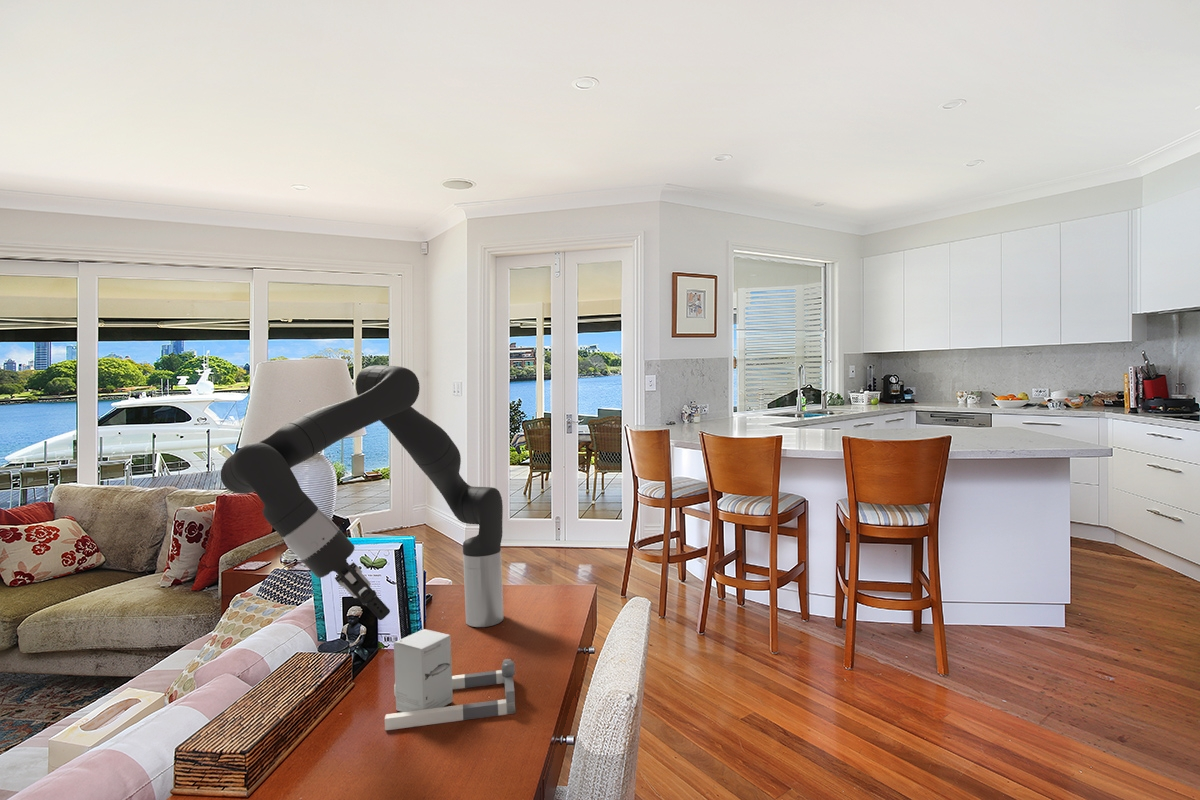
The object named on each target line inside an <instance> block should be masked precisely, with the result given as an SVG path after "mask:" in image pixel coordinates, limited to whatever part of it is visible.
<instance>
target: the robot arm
mask: <svg viewBox="0 0 1200 800" xmlns="http://www.w3.org/2000/svg"><path fill="white" fill-rule="evenodd" d="M355 390H356V391H355V392H356V394H357V395H355V396H354V397H351V398H348V399H346V400H342V401H340V402H339V401H338V402H336V403H333V404H328V405H325V406H323V407H319V408H317V409H315V410H311V411H309V412H307V413H305V414H303V415H302V416H300V417H297V418H296V419H294V420H291V421H290V422H289V423H287V424H285V425H283V426H282V427H280V428H279V429H278V430H276V431H275V432H273V433H272V434H271V435H270V436H268V437H266V438H265V439H262V440H260V441H259V442H258V441H257V442H256V441H255V442H254V441H253V442H250V443H246V444H245V445H244V446H242V447H241V448H239V449H237V450H236V451H235V452H234V453H233V454H231V455H230V456H229V457H228V458H227V459H226V460H225V461H224V462H223V464H222V467H221V469H220V480H221V483H222V484H223V486H224V487H225V488H226V489H227V490H228V491H231V492H232V493H235V494H240V495H241V494H242V495H245V494H252V493H254V492H255V493H256V495H257V496H258V498H259V499H260V500H261V502H262V503H263V506H264V507H263V509H262V515H263V517H264V519H265V520H266V522H267V523H268V524H269V525H270V526H271V527H272V528H273V529H274V530H275V531H276V532H277V533H278V535H280V537H281V538H282V539H283V541H284V542H285V543H286V544H287V546H288V548H289V549H290V550H291V551H292V552H293V553H294V554H295V556H296V557H298V559H300V561H301V562H302V563H303V564H304V565H305V566H306V567H307V569H308V570H310V571H311V572H312V574H313V575H314V576H315V577H316V578H319V579H321V578H325V577H327V576H328V575H330V574H331V572H335V573H336V576H335V577H334V579H335V581H336V582H337V584H338V585H339V586H340V587H341V588H342V589H345V590H346V591H347V592H348V593H349V595H350V596H352V597H353V598H354V599H358V600H359V601H360V603H361V605H363V606H365V607H367V609H369V610H370V611H371V613H372V614H373V615H374V616H375V617H376V618H377V619H378V621H382V620H384V619H385V618H386V617H387V616H389V614H390V613H391V609H389V608H388V606H387V605H386V604H385V602H383V601H382V600H381V599H380V597H379V596H378V594H377V592H376V590H373V589H372V587H371V586H372V585H371V582H370V580H369V579H368V578H367V577H366V576H365V575H364V574H363V573H362V572H363V571H362V569H360V567H359V566H358V565H357V564H356V563H355V562H354V561H352V563H348V560H347V559H348V558H349V557H351V555H352V554H353V552H354V551H355V544H354V543H352V541H350V539H349V538H348V537H347V536H346V534H344V533H343V531H342V530H341V529H340V528H339V527H338V526H337V524H335V523H334V522H333V520H332V519H331V518H330V517H329V516H328V515H327V514H326V513H325V512H323V511H322V510H321V509H320V508H319V507H318V506H317V505H316V503H315V502H314V501H313V500H311V498H310V497H309V496H308V495H307V493H305V492H304V491H303V490H302V487H301V486H300V484H299V482H298V479H297V478H296V476H295V474H294V472H293V471H292V469H291V468H293V467H295V466H298V465H299V464H301V463H303V462H305V461H307V460H309V459H311V458H313V457H314V456H315V455H317V454H319V453H320V452H322V451H324V450H325V449H327V448H328V447H330V446H332V445H333V444H335V443H336V442H339V441H340V440H342V439H345V437H348V436H349V435H352V434H353V433H355V432H357V431H360V430H361V429H364V428H365V427H368V426H370V425H372V424H374V423H378V422H381V424H383V426H385V427H386V428H387V429H388V430H389V432H390V433H391V434H392V435H393V436H394V437H395V439H396V440H397V442H398V443H399V444H401V446H402V447H403V448H404V450H405V451H406V452H407V453H408V454H409V455H410V457H411V458H412V460H413V461H414V462H415V464H417V466H418V467H419V469H420V470H421V471H422V472H423V473H424V475H426V476H427V477H428V480H430V481H431V483H432V484H433V485H434V486H435V488H436V489H437V490H438V492H439V493H440V494H441V496H442V497H443V499H444V501H445V502H446V504H447V505H448V507H449V509H450V510H451V512H452V514H453V515H454V516H455V517H456V519H457V520H458V521H460V522H461V523H463V524H465V525H466V524H467V525H478V534H477V535H475V536H472V537H469V538H468V539H465V540H464V541H463V543H462V559H463V560H462V561H463V562H462V563H463V564H462V565H463V581H464V582H463V583H464V584H463V585H464V608H465V624H466V625H467V626H469V627H475V628H485V627H486V628H487V627H491V626H495V625H497V624H500V623H501V622H502V621H504V619H505V618H504V598H503V597H504V593H503V592H504V591H503V574H502V573H503V570H502V569H503V567H502V549H501V548H502V547H501V545H502V544H501V543H502V539H503V512H504V511H503V510H504V508H503V506H504V505H503V499H502V498H503V497H502V494H501V493H500V491H499V490H498V488H495V487H492V486H472V485H469V484H468V483H467V482H466V481H465V480H464V478H463V477H462V476H461V475H460V470H461V464H462V463H461V462H462V460H461V459H462V458H461V452H460V450H459V448H458V446H457V445H456V444H455V442H454V441H453V440H452V439H451V437H450V436H449V435H448V433H447V432H446V431H445V429H443V428H442V427H441V426H439V425H438V424H437V423H435V422H434V421H433V420H431V419H430V418H428V417H427V416H425V415H424V414H422V413H420V412H419V411H417V410H416V409H415V408H414V407H413V405H414V404H415V402H416V401H417V400H418V398H419V395H420V381H419V379H418V376H417V375H416V373H414V372H413V370H411V369H409V368H407V367H403V366H396V365H384V364H377V365H369V366H366V367H365V368H362V369H361V370H360V371H359V373H358V374H357V376H356V379H355Z"/></svg>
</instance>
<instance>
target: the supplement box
mask: <svg viewBox="0 0 1200 800" xmlns="http://www.w3.org/2000/svg"><path fill="white" fill-rule="evenodd" d="M393 658H394V659H393V660H394V661H393V663H394V685H395V691H396V697H395V710H396V711H398V712H399V713H401V712H409V711H417V710H424V709H432V708H440V707H447V705H449V704H452V702H453V701H454V700H453V697H454V696H453V690H452V676H453V673H452V672H453V669H452V644H451V634H448V633H443V632H439V631H435V630H431V629H426V628H423V629H421V630H419V631H416V632H414V633H411V634H409V635H407V636H405V637H402V638H401V639H399V640H396V641H393Z"/></svg>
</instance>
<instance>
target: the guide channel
mask: <svg viewBox="0 0 1200 800" xmlns="http://www.w3.org/2000/svg"><path fill="white" fill-rule="evenodd" d="M502 661H503V662H502V663H501V669H499V670H498V669H497V670H490V671H483V672H474V673H463V674H456V675H452V691H454V690H460V689H468V688H475V687H476V688H477V687H486V686H492V685H501V684H504V695H505V696H504V697H505V698H504V699H496V700H490V701H481V702H480V701H479V702H472V703H464V704H457V705H451V706H450V705H449V706H444V707H440V708H432V709H424V710H417V711H409V712H395V713H386V714H385V716H384V731H392V730H398V729H399V730H400V729H405V728H406V729H407V728H414V727H415V728H416V727H421V726H427V725H429V726H430V725H437V724H444V723H452V722H459V721H466V720H475V719H483V718H490V717H496V716H505V715H511V714H512V715H513V714H516V695H515V694H516V692H515V684H514V676H516V664H515V661H512V658H506V659H503V660H502ZM393 687H394V688H393V692H394V697H395V698H396V691H395V684H394V686H393Z"/></svg>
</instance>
